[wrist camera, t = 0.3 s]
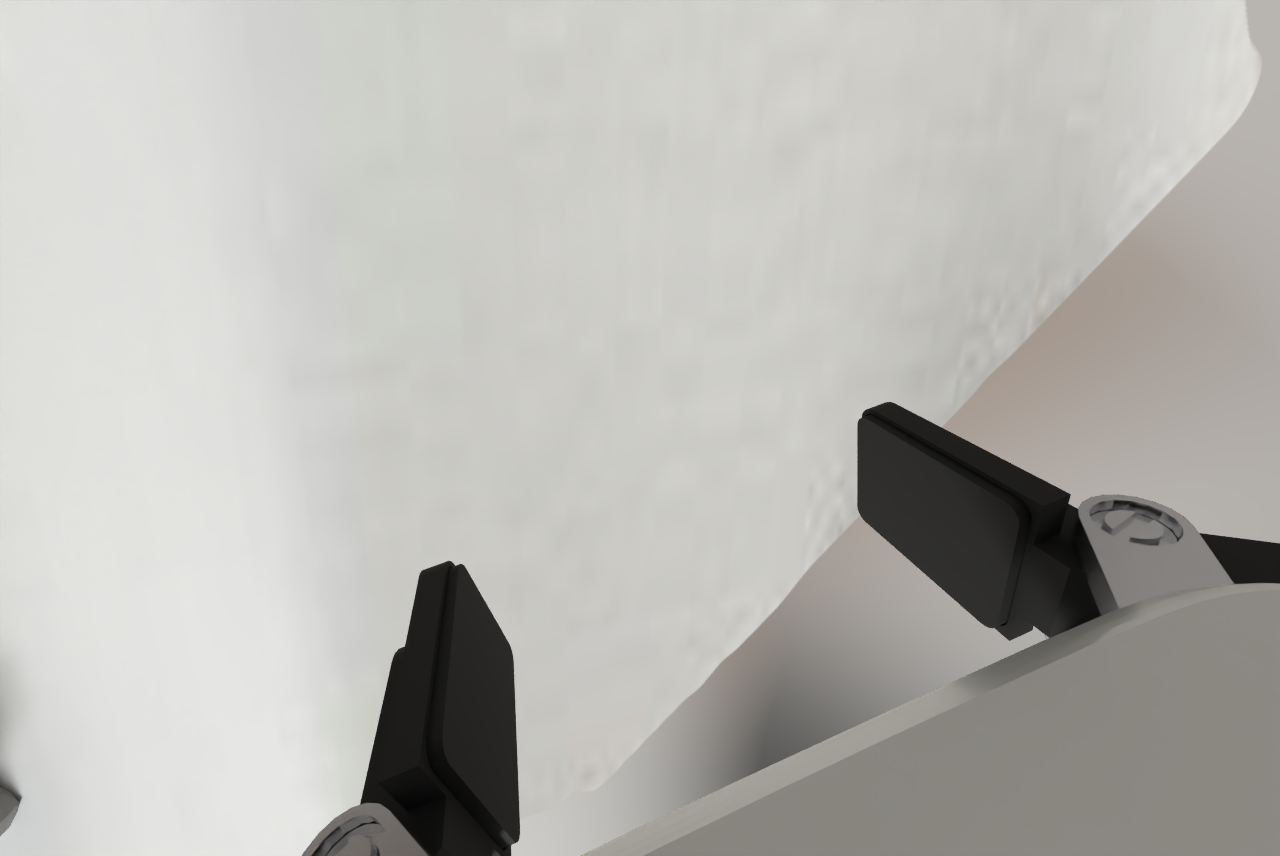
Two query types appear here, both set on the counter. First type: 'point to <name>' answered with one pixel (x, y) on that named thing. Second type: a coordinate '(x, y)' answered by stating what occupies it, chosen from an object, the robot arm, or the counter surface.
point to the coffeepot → (7, 809)
